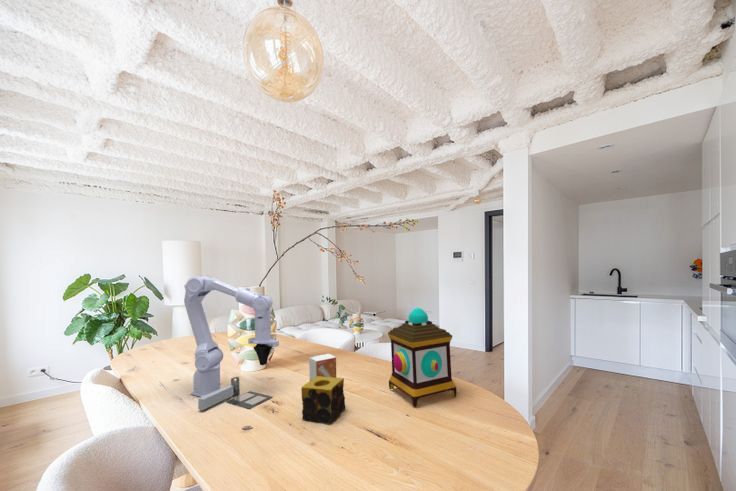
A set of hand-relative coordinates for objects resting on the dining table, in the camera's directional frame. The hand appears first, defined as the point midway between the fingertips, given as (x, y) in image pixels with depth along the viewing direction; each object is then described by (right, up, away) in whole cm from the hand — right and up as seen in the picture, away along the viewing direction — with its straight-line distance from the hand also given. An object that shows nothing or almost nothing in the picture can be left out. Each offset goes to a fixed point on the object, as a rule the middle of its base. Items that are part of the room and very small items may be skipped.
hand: (263, 364), depth 116 cm
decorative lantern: (+59, -8, -8) cm, 60 cm away
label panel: (-2, -9, -8) cm, 13 cm away
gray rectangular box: (-13, -9, -10) cm, 18 cm away
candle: (+26, -8, -21) cm, 34 cm away
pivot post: (-9, -10, -3) cm, 14 cm away
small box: (+23, -9, -5) cm, 25 cm away
